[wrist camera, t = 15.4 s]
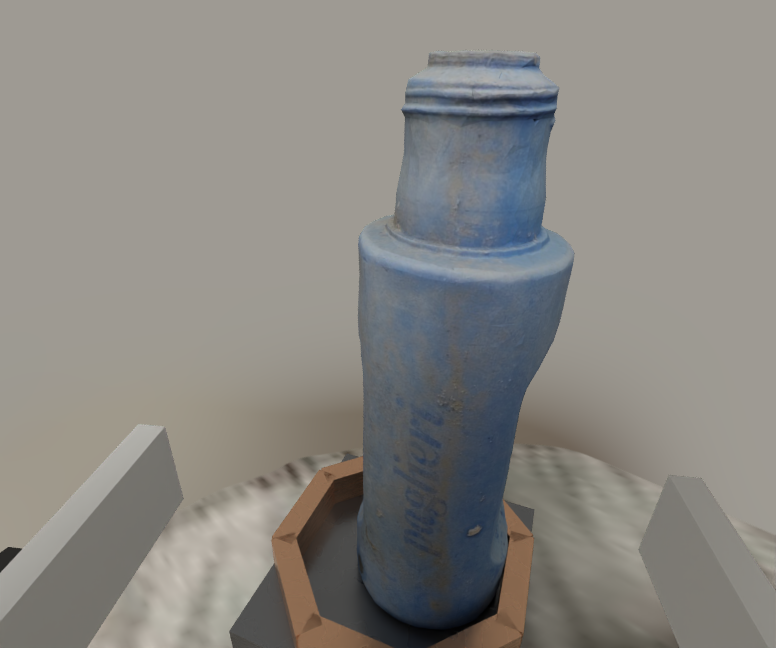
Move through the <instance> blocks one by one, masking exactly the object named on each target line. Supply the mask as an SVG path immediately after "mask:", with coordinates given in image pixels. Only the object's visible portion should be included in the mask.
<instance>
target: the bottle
mask: <svg viewBox="0 0 776 648" xmlns="http://www.w3.org/2000/svg"><path fill="white" fill-rule="evenodd" d="M539 65H540V57H539V56H538V55H537V54H536V53H531V52H519V51H495V50H463V51H454V52H446V51H436V52H432V53H429V60H428V67H427V68H426V69H424V70H423V71H421V72H419V73H418V74H416V75H415V76H413V77H411V78H410V79H409V80H408V84H407V88H406V92H405V104H404V106H403V108H402V109H401V110H402V112H403V114H404V116H405V139H404V141H405V142H404V148H405V149H404V156H403V162H402V167H401V172H400V177H399V183H398V188H397V193H396V207H395V215H391V216H385V217H383V218H380V219H378V220H375V221H373V222H372V223H370V224H368V225H367V226H365V227H364V229H363V231H362V233H361V234H360V236H359V244H358V247H359V270H360V278H359V301H358V327H359V337H360V342H361V357H362V366H363V386H364V431H363V494H364V496H363V502H362V504H361V506H360V510H359V513H358V516H357V558H358V566H359V571H360V574H361V577H362V580H363V583H364V585H365V587H366V588H367V590H368V592H369V594H370V595H371V597H372V599H373V600H374V602H375V603H376V604H377V605H378V606H379V607H380V608H382V609H383V610H384V611H386V612H387V613H388V614H390V615H391V616H392V617H394V618H396V619H398V620H399V621H401V622H403V623H406V624H409V625H411V626H414V627H418V628H426V629H438V630H445V629H450V628H454V627H459V626H462V625H465V624H467V623H470V622H472V621H475V620H476V619H477V618H478V617H479V616H480V615H481V614H482V613H483V612H484V611H485V610H486V608H487V607H488V606H489V605H490V603H491V602H492V600H493V598H494V596H495V594H496V592H497V590H498V588H499V584H500V580H501V576H502V572H503V568H504V564H505V560H506V555H507V548H508V539H507V528H508V527H507V522H506V518H505V509H504V503H503V493H504V489H505V484H506V479H507V475H508V470H509V464H510V457H511V454H512V450H513V444H514V438H515V432H516V427H517V422H518V417H519V412H520V407H521V403H522V400H523V397H524V395H525V392H526V389H527V387H528V385H529V384H530V382H531V380H532V379H533V377H534V375H535V374H536V372H537V370H538V369H539V367H540V365H541V363H542V361H543V359H544V358H545V356H546V354H547V352H548V350H549V348H550V346H551V344H552V342H553V341H554V338H555V335H556V331H557V329H558V326H559V323H560V319H561V314H562V310H563V306H564V301H565V296H566V291H567V288H568V283H569V279H570V275H571V271H572V266H573V260H574V251H573V249H572V247H571V246H570V244H569V243H568V242H567V241H566V240H565V239H564V238H563V237H562V236H560V235H559V234H557V233H555V232H553V231H550V230H548V229H545V228H544V227H543V226H541V224H542V219H543V212H544V206H545V200H546V186H545V185H546V155H547V147H548V142H549V137H550V132H551V130H552V127H553V125H554V122H555V117H554V113H555V111H556V106H557V95H558V91H559V87H558V86H557V85H555V84H554V83H553V82H552V81H551V80H550V79H548V78H547V77H545V76H544V75H543V73H542V72H541V70H540V69H539Z"/></svg>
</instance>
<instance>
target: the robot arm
mask: <svg viewBox="0 0 776 648" xmlns="http://www.w3.org/2000/svg"><path fill="white" fill-rule="evenodd" d="M182 500H183V495H182V491H181V487H180V483H179V479H178V475H177V471H176V467H175V464H174V460H173V456H172V452H171V448H170V444H169V440H168V436H167V433H166V429H165V427H164V426H153V425H143V424H138V425H137V426H136V428H135V429H134V430H133V431H132V432H131V433H130V434H129V435H128V436H127V437H126V438H125V439H124V440H123V441H122V443H121V444H120V445H119V446H118V447H117V448H116V449H115V450H114V451H113V452H112V453H111V454H110V455H109V457H108V458H107V459H106V460H105V461H104V462H103V463H102V464H101V465H100V466H99V467H98V468H97V469H96V470H95V472H94V473H93V474H92V475H91V476H90V477H89V478H88V479H87V480H86V481H85V482H84V484H82V486H81V487H80V488H79V489H78V490H77V491H76V492H75V493H74V494H73V495H72V497H70V498H69V499H68V501H67V502H66V503H65V504H64V505H63V506H62V507H61V508H60V509H59V510H58V511H57V512H56V513H55V515H54V516H53V517H52V518H51V519H50V520H49V521H48V522H47V523H46V524H45V525H44V526H43V527H42V529H41V530H40V531H39V532H38V533H37V534H36V535H35V536H34V537H33V538H32V539H31V540H30V541H29V543H28V544H27V545H26V546H25V547H24V548H23V549H20V548H12V547H8V548H6V549H5V550H4V551H2V552H1V553H0V648H87V647H88V645H89V644H90V642H91V640H92V639H93V637H94V636H95V634H96V633H97V631H98V630H99V628H100V627H101V625H102V624H103V622H104V620H105V619H106V617H107V616H108V614H109V613H110V611H111V610H112V608H113V607H114V605H115V604H116V602H117V600H118V599H119V597H120V596H121V594H122V593H123V591H124V590H125V588H126V587H127V585H128V583H129V582H130V580H131V579H132V577H133V576H134V574H135V573H136V571H137V570H138V568H139V567H140V565H141V563H142V562H143V560H144V559H145V557H146V556H147V554H148V553H149V551H150V550H151V548H152V547H153V545H154V543H155V542H156V540H157V539H158V537H159V536H160V534H161V533H162V531H163V530H164V528H165V526H166V525H167V523H168V522H169V520H170V519H171V517H172V516H173V514H174V513H175V511H176V510H177V508H178V506H179V505H180V503H181V502H182ZM639 551H640V554H641V556H642V559H643V561H644V563H645V566H646V568H647V571H648V573H649V575H650V578H651V580H652V583H653V585H654V587H655V590H656V592H657V595H658V597H659V599H660V602H661V604H662V607H663V609H664V611H665V614H666V616H667V619H668V621H669V623H670V626H671V628H672V631H673V633H674V635H675V638H676V640H677V643H678V645H679V647H680V648H776V591H775V589H774V588H773V586H772V585H771V583H770V582H769V580H768V579H767V577H766V576H765V574H764V572H763V571H762V569H761V568H760V566H759V565H758V563H757V562H756V560H755V559H754V557H753V556H752V554H751V553H750V551H749V550H748V548H747V547H746V545H745V544H744V542H743V540H742V539H741V537H740V536H739V534H738V533H737V531H736V530H735V528H734V527H733V525H732V524H731V522H730V521H729V519H728V518H727V516H726V515H725V513H724V512H723V510H722V509H721V507H720V506H719V504H718V502H717V501H716V499H715V498H714V496H713V495H712V493H711V492H710V490H709V489H708V487H707V486H706V484H705V483H704V481H703V480H702V478H694V477H684V476H673V475H669V476H668V478H667V481H666V483H665V486H664V488H663V490H662V493H661V495H660V498H659V500H658V503H657V505H656V508H655V510H654V513H653V515H652V518H651V520H650V523H649V525H648V527H647V530H646V532H645V535H644V537H643V540H642V542H641V545H640V547H639Z"/></svg>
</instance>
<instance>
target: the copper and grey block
mask: <svg viewBox="0 0 776 648" xmlns="http://www.w3.org/2000/svg"><path fill="white" fill-rule="evenodd" d="M363 496H364V494H363V456H362V457H357V456H353V455H350V454H346V456H345V457H344V459H343V460H342V462H341V463H338V464H334V465H331V466H328V467H324V468H322V470H319V471H318V472H317V474H316V475H315V477H314V478H313V479H312V481H311V482H310V484H309V485H308V487H307V488H306V489H305V491H304V492H303V494H302V495H301V496H300V498H299V499H298V501H297V502H296V503H295V505H294V506H293V508H292V509H291V511H290V512H289V513H288V515H287V516H286V518H285V519H284V520H283V522H282V523H281V525H280V526H279V528H278V529H277V530H276V532H275V533H274V535H273V536H272V540H271V541H272V548H273V556H274V565H273V566H272V568H271V569H270V571H269V572H268V574H267V575H266V577H265V578H264V580H263V581H262V583H261V584H260V586H259V587H258V589H257V590H256V592H255V593H254V595H253V596H252V598H251V599H250V601H249V602H248V604H247V605H246V607H245V608H244V610H243V611H242V613H241V614H240V616H239V617H238V619H237V620H236V622H235V623H234V625H233V627H232V628H231V630H230V631H229V632H230V636H231V641H232V645H233V648H520V644H521V641H522V637H523V633H524V625H525V616H526V607H527V598H528V589H529V580H530V571H531V562H532V553H533V544H534V538H533V534H532V533H531V532H532V524H533V515H534V509H530V508H527V507H524V506H520V505H517V504H514V503H510V502H507V501H504V500H503V503H504V509H505V518H506V522H507V527H508V528H507V539H508V548H507V555H506V560H505V564H504V568H503V572H502V576H501V580H500V584H499V588H498V590H497V592H496V594H495V596H494V598H493V600H492V602H491V603H490V605H489V606H488V607H487V608H486V610H485V611H484V612H483V613H482V614H481V615H480V616H479V617H478V618H477V619H476V620H475V621H472V622H470V623H467V624H465V625H462V626H459V627H454V628H450V629H445V630H438V629H426V628H418V627H414V626H411V625H409V624H406V623H403V622H401V621H399V620H398V619H396V618H394V617H392V616H391V615H390V614H388V613H387V612H386V611H384V610H383V609H382V608H380V607H379V606H378V605H377V604H376V603H375V602H374V600H373V599H372V597H371V595H370V594H369V592H368V590H367V588H366V587H365V585H364V583H363V580H362V577H361V574H360V571H359V566H358V558H357V516H358V513H359V510H360V506H361V504H362V502H363Z"/></svg>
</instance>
